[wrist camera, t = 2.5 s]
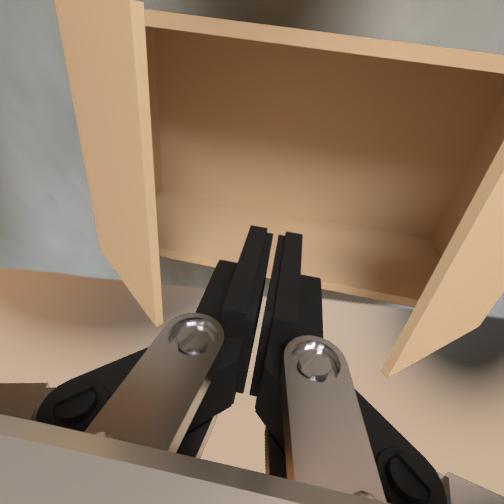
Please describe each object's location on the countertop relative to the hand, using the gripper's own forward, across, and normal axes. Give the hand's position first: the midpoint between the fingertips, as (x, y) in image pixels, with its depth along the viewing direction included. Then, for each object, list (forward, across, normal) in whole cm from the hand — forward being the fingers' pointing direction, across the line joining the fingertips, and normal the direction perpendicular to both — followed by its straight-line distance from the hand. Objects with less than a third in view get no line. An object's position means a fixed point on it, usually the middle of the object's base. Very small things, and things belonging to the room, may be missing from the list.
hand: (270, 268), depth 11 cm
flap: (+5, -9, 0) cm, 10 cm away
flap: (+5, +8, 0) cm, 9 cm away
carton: (+16, -1, 0) cm, 17 cm away
